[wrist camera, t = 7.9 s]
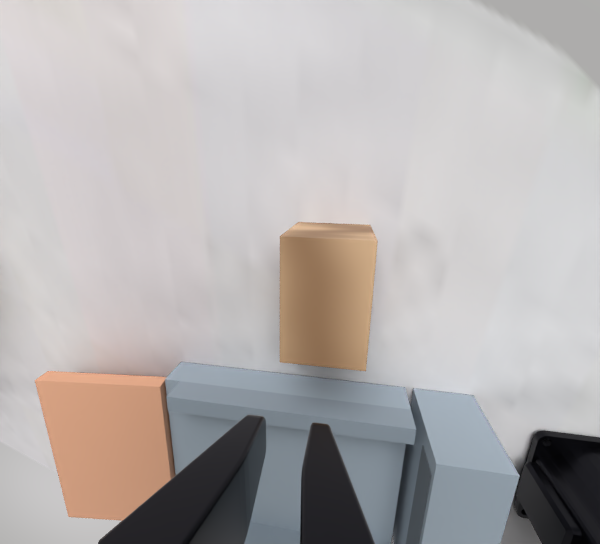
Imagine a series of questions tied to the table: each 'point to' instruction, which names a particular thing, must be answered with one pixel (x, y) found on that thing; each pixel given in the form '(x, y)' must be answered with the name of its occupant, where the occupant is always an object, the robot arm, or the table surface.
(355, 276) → the upright cardboard box
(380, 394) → the truck bed
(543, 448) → the robot arm
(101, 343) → the table surface
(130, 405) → the panel
